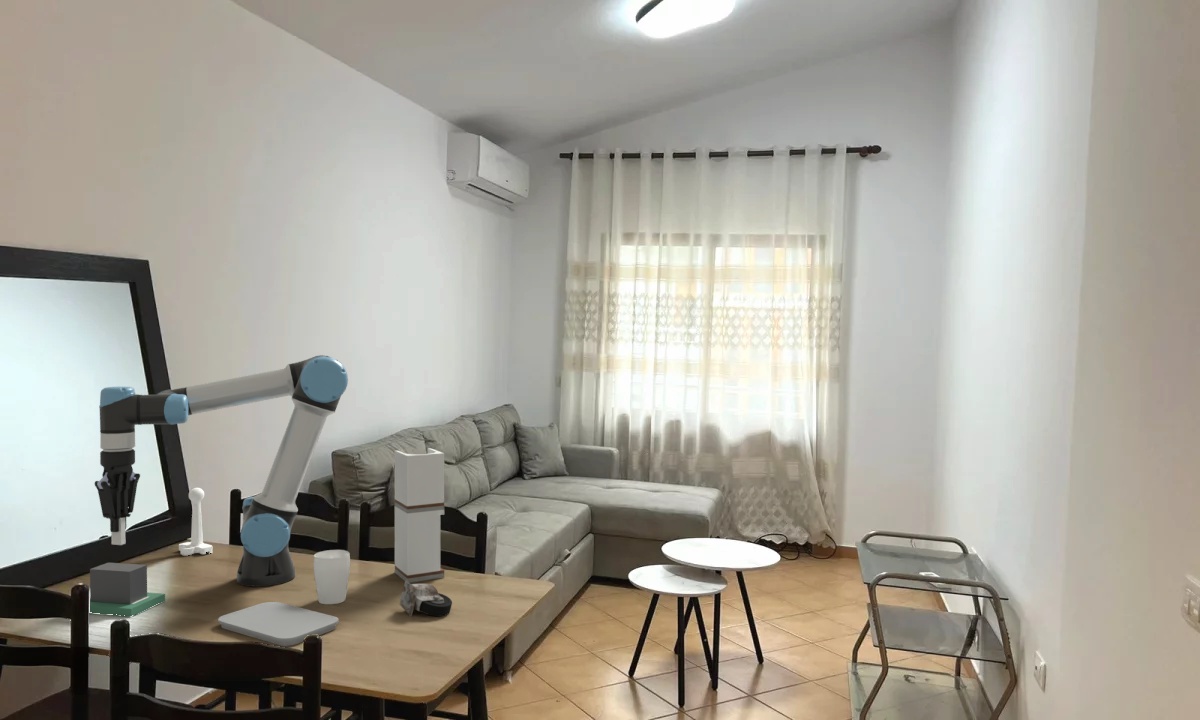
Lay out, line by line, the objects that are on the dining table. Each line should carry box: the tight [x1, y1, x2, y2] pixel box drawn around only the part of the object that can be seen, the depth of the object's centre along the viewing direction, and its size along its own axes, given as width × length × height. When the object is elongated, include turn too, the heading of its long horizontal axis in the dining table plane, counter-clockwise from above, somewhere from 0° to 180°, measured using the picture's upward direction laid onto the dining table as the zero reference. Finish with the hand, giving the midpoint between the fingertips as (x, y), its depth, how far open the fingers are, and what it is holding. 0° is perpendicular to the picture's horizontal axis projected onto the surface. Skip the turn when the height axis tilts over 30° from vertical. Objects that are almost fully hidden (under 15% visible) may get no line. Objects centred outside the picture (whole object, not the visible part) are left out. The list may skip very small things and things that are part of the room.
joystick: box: [178, 487, 213, 557], centre depth 264 cm, size 11×8×20 cm
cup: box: [312, 549, 351, 605], centre depth 219 cm, size 9×9×12 cm
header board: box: [90, 591, 166, 617], centre depth 213 cm, size 16×12×6 cm
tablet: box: [217, 601, 339, 647], centre depth 200 cm, size 16×26×2 cm, turn 59°
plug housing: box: [89, 562, 148, 604], centre depth 213 cm, size 11×6×8 cm, turn 80°
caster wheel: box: [398, 580, 453, 617], centre depth 211 cm, size 7×11×10 cm
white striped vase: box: [394, 447, 445, 584], centre depth 242 cm, size 11×11×35 cm
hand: (118, 543), depth 213 cm, fingers closed
